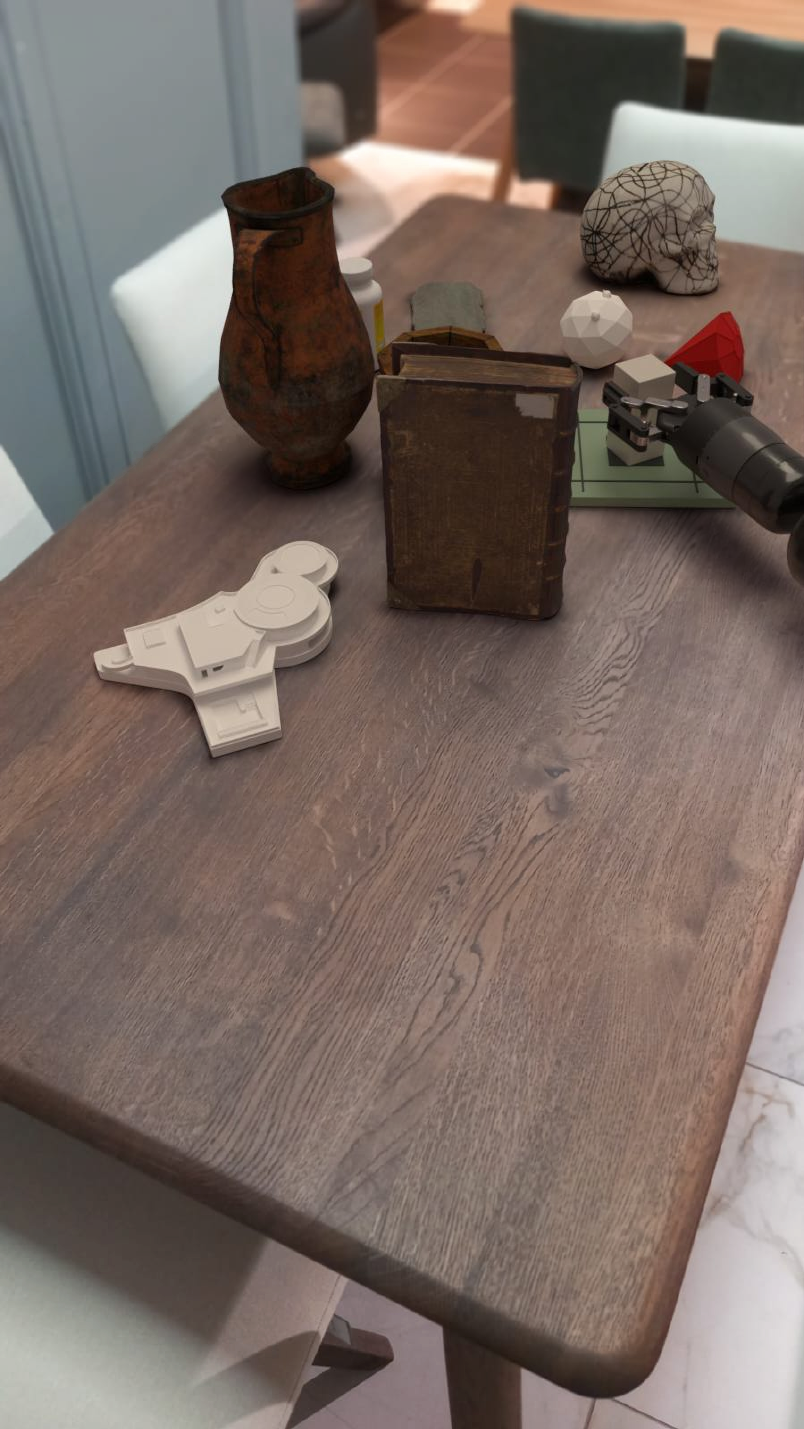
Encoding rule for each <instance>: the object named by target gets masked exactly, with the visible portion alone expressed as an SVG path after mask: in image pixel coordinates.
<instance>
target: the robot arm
mask: <svg viewBox="0 0 804 1429" xmlns="http://www.w3.org/2000/svg"><path fill="white" fill-rule="evenodd" d="M671 369H673V370H674V371H675V372H676V377H675V383H674V385H676V386H677V387H678V388H680V389H681V390H682V391H684V392H685V393H686V394H681V395H679V396H677V397H674V398H672V399H667V400H662V399H658V398H653V397H647V398H646V399H645V400H641V399H637V398H632V397H629V394H628V393H626V392H625V391H624V390H623V389H621V388H620V387H619V386H618V385H617V384H615V383H614V382H613V380H609V381H606V382H604V384H603V388H602V394H601V395H602V396H601V402H602V404H604V405H605V406H606V407H607V409H609V414H608V423H607V429H608V430H609V431H611V432H612V433H613V434H615V435H616V436H617V437H619V438H620V439H621V440H622V441H624V442H625V443H626V444H628V445H629V446H630V447H632V448H633V449H634V450H635V451H637V452H645V451H647V445H648V443H651V442H654V441H657V440H659V441H661V442H663V443H666V444H669V445H671V446H672V448H673V449H674V451H675V453H676V455H677V457H678V459H679V460H680V462H681V463H682V464H683V465H685V466H686V467H687V468H688V469H689V470H691V471H692V472H693V473H694V474H695V475H697V476H698V477H699V478H700V479H701V480H702V481H704V482H705V483H706V484H707V485H708V486H710V487H711V488H712V489H713V490H714V491H715V492H717V493H718V494H719V495H721V496H722V497H723V498H725V499H726V500H728V501H730V502H732V503H733V504H735V505H736V507H737V508H739V509H740V510H741V511H742V512H743V513H745V514H746V515H747V516H748V517H750V519H752V520H753V521H754V522H755V523H756V524H758V525H759V526H760V527H762V528H763V529H764V530H766V531H767V532H770V533H772V534H775V535H781V536H783V535H786V536H787V535H789V536H788V541H787V543H786V544H787V545H786V562H787V566H788V570H789V573H790V575H791V577H792V578H793V579H794V581H795V582H796V583H797V584H798V585H799V586H800V587H801V588H803V589H804V456H803V455H802V454H801V453H799V452H798V451H797V450H795V449H794V448H792V447H791V446H790V445H788V444H787V443H786V442H785V441H784V440H783V439H782V438H781V436H779V434H778V433H777V432H775V431H774V430H773V429H772V428H770V427H769V426H768V425H766V424H765V423H764V422H762V421H761V420H760V419H759V418H757V417H755V416H754V415H753V414H752V409H753V405H754V400H755V396H754V394H752V393H751V392H750V391H748V390H747V389H746V388H745V387H743V386H742V385H741V384H740V383H737V382H736V381H735V380H734V379H732V378H731V377H730V376H729V375H727V374H726V373H717V374H716V377H714V378H710V376H709V375H707V374H699V373H698V372H697V371H695V370H694V369H693V368H691V367H690V366H687V365H685V364H683V363H682V362H677V363H674V364H673V367H672V368H671ZM632 408H634V409H639V410H640V411H641V415H640V417H639V416H635V415H633V414H631V411H632ZM651 408H653V409H657V410H658V411H657V418H656V424H653V423H652V422H651V421H650V416H651Z"/></svg>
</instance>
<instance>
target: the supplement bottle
mask: <svg viewBox="0 0 804 1429" xmlns="http://www.w3.org/2000/svg"><path fill="white" fill-rule="evenodd" d="M338 260H339V259H338ZM339 266H340V271H341V273H342V275H343V277H344V279H345V281H346V283H347V285H348V287H349V289H350V291H351V293H352V295H353V297H354V299H355V301H356V303H357V306H358V309H359V311H360V314H361V316H362V319H363V321H364V324H365V326H366V329H367V331H368V334H369V339H370V343H371V348H372V352H373V357H374V361H375V372H376V371H379V364H378V359H377V353H379V352H380V351H381V350H382V349H383V348H385V347H386V346H387V345H386V333H385V315H384V300H383V290H382V287H381V285H380V284H379V283H378V282H377V281H375V280H374V279H372V278H373V275H374V268H373V267H374V266H373V263H372V261H371V260H370V259H368V258H365V257H360V256H354V257H345V258H342V259H340V260H339Z"/></svg>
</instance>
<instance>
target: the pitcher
mask: <svg viewBox="0 0 804 1429" xmlns="http://www.w3.org/2000/svg"><path fill="white" fill-rule="evenodd" d="M335 194H336V188H335V187H334V186H333V185H332V184H330V183H329V182H327V181H324V180H323V179H320V178H319V177H317V173H316V171H314V170H313V169H311V168H310V167H308V166H307V167H306V166H297V167H291V168H290V169H285V170H282V171H279V172H278V173H275V174H271V175H267V176H263V177H259V178H254V179H249V180H245V181H240V182H236V183H235V184H233V185H230V186H229V187H227V188H226V189H225V190H224V191H223V192H222V194H221V195H220V198H221V200H222V204H223V207H224V208H225V209H226V214H227V219H228V224H229V231H230V232H229V233H230V238H231V239H230V240H231V245H232V256H233V258H232V269H231V270H232V271H231V273H232V274H231V287H232V292H231V297H230V302H229V306H228V308H227V309H228V310H227V314H226V317H225V320H224V325H223V327H222V332H221V335H220V342H219V351H218V352H219V353H218V354H219V355H218V373H217V380H218V385H219V387H220V390H221V394H222V397H223V401H224V405H225V408H226V410H227V412H228V413H229V415H230V416H231V418H232V419H233V420H234V421H235V422H236V423H237V424H238V426H240V428H242V429H243V431H244V432H246V434H247V435H248V436H249V437H250V438H251V439H252V440H253V441H254V442H255V443H257V444H258V446H260V447H262V448H263V449H265V450H267V451H268V452H267V455H266V456H265V461H264V469H265V473H266V474H267V476H268V478H269V479H270V480H272V481H273V482H274V483H275V484H277V485H280V486H282V487H285V488H287V489H295V490H296V489H297V490H308V489H315V488H322V487H325V486H327V485H329V484H332V483H334V482H336V481H337V480H338V479H340V478H342V476H344V475H345V474H346V473H347V471H348V470H349V469H350V467H351V465H352V461H353V451H352V447H351V446H350V444H349V443H348V442H347V440H346V439H347V438H348V437H349V436H350V435H351V433H353V431H354V430H355V428H356V427H357V425H358V424H359V422H360V420H361V419H362V417H363V416H364V414H365V412H366V411H367V409H368V407H369V405H370V403H371V402H372V399H373V391H374V382H375V376H376V375H375V374H376V371H375V361H374V357H373V352H372V348H371V343H370V339H369V334H368V331H367V329H366V326H365V324H364V321H363V319H362V316H361V314H360V311H359V309H358V306H357V303H356V301H355V299H354V297H353V295H352V293H351V291H350V289H349V287H348V285H347V283H346V281H345V279H344V277H343V275H342V273H341V271H340V266H339V256H338V251H337V246H336V237H335V226H334V212H333V211H334V210H333V208H334V207H333V206H334V205H333V204H334V200H335Z"/></svg>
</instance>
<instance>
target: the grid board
mask: <svg viewBox="0 0 804 1429" xmlns="http://www.w3.org/2000/svg"><path fill="white" fill-rule="evenodd" d="M608 414H609V408H588V409H587V408H578V416H579V422H578V426H577V428H576V434H575V445H574V450H575V453H576V454H575V463H574V465H573V470H572V481H571V488H572V497H571V499H570V505H569V507H601V508H602V507H605V508H606V507H609V508H610V507H612V508H614V507H615V508H616V507H617V508H619V507H620V508H702V509H703V508H704V509H705V508H707V509H709V508H711V509H712V508H713V509H715V508H716V509H717V508H719V509H736V507H737V506H736V505H735V504H733V503H732V502H730V501H728V500H726V499H725V498H723V497H722V496H721V495H719V494H718V493H717V492H715V491H714V490H713V489H712V488H711V487H710V486H708V485H707V484H706V483H705V482H704V481H702V480H701V479H700V478H699V477H698V476H697V475H695V474H694V473H693V472H692V471H691V470H689V469H688V468H687V467H686V466H685V465H683V464H682V463H681V462H680V460H679V459H678V457H677V455H676V453H675V451H674V449H673V448H672V446H671V445H669V444H666V443H665V449H664V455H662V456H659V457H656V458H653V459H650V460H646V461H643V462H640V463H637V464H634V465H630V466H628V465H627V464H626V463H625V462H623V461H622V460H621V459H620V458H619V457H618V456H617V455H616V454H614V453H613V452H612V451H611V450H610V449H609V448H608V447H606V443H607V433H608V429H607V423H608Z"/></svg>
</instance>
